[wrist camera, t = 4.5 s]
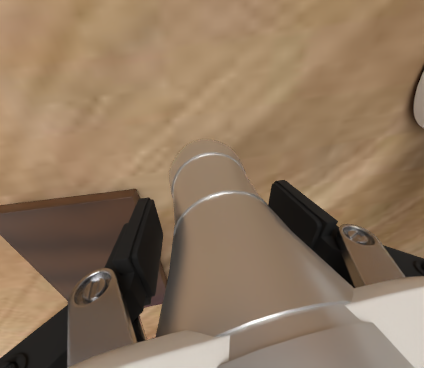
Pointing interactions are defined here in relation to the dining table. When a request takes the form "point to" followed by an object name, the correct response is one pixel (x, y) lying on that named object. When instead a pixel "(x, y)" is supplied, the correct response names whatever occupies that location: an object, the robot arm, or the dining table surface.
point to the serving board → (71, 235)
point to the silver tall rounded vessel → (256, 276)
